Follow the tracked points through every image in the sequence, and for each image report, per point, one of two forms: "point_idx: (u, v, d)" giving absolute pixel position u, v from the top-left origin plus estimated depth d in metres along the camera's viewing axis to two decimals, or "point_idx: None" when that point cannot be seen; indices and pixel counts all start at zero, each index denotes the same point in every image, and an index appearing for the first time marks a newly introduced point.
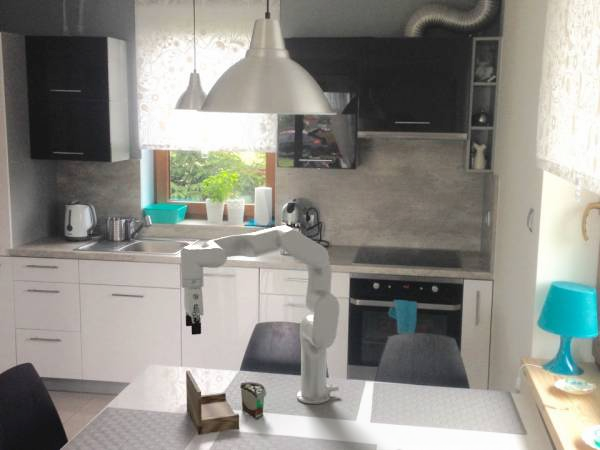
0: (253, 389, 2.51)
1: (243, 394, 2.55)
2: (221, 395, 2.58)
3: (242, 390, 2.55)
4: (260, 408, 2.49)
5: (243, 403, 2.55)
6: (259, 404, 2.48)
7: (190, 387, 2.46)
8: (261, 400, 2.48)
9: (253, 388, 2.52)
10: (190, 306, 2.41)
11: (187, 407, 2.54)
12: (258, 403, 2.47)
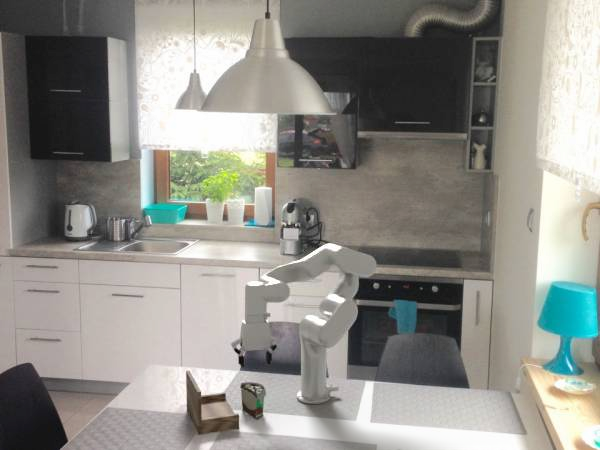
0: (253, 389, 2.51)
1: (243, 394, 2.55)
2: (221, 395, 2.58)
3: (242, 390, 2.55)
4: (260, 408, 2.49)
5: (243, 403, 2.55)
6: (259, 404, 2.48)
7: (190, 387, 2.46)
8: (261, 400, 2.48)
9: (253, 388, 2.52)
10: (269, 337, 2.49)
11: (187, 407, 2.54)
12: (258, 403, 2.47)
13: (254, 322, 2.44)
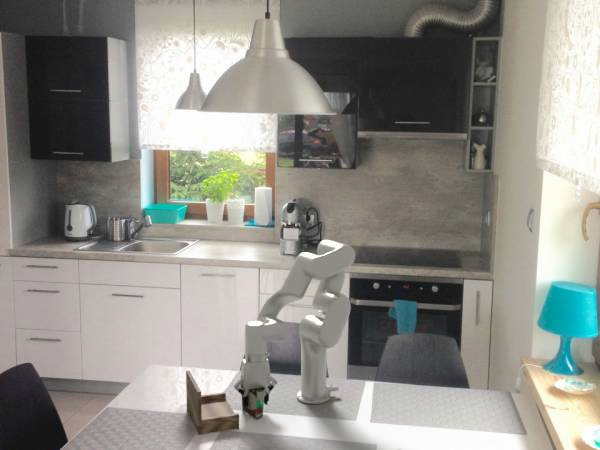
0: (253, 389, 2.51)
1: None
2: (221, 395, 2.58)
3: None
4: (260, 408, 2.49)
5: None
6: (259, 404, 2.48)
7: (190, 387, 2.46)
8: (261, 400, 2.48)
9: None
10: (270, 376, 2.51)
11: (187, 407, 2.54)
12: (258, 403, 2.47)
13: (254, 362, 2.47)
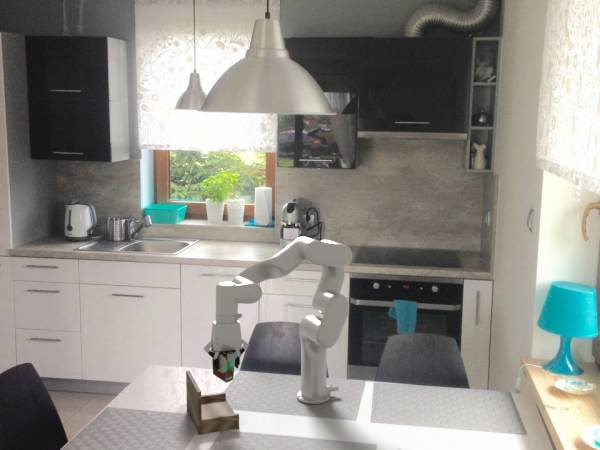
0: (224, 351, 2.45)
1: None
2: (221, 395, 2.58)
3: None
4: (230, 371, 2.43)
5: None
6: (229, 366, 2.42)
7: (190, 387, 2.46)
8: (232, 362, 2.42)
9: (224, 351, 2.46)
10: (241, 338, 2.45)
11: (187, 407, 2.54)
12: (228, 365, 2.41)
13: (225, 323, 2.41)
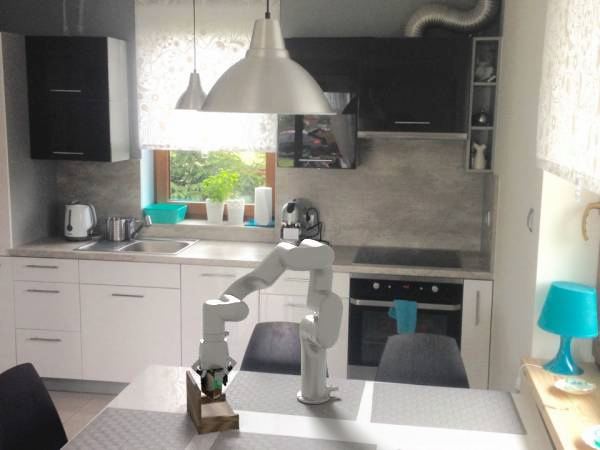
0: (211, 370, 2.45)
1: None
2: None
3: None
4: (218, 389, 2.42)
5: None
6: (217, 385, 2.41)
7: (190, 387, 2.46)
8: (219, 381, 2.42)
9: (212, 369, 2.46)
10: (228, 356, 2.45)
11: (187, 407, 2.54)
12: (216, 384, 2.41)
13: (212, 341, 2.40)
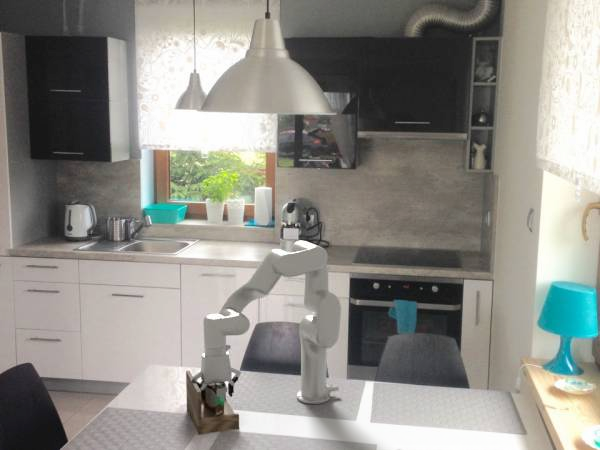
0: (214, 386, 2.46)
1: None
2: None
3: None
4: (220, 405, 2.44)
5: None
6: (219, 401, 2.43)
7: (190, 387, 2.46)
8: (221, 397, 2.43)
9: (214, 385, 2.47)
10: (230, 370, 2.46)
11: (187, 407, 2.54)
12: (218, 400, 2.42)
13: (213, 356, 2.41)
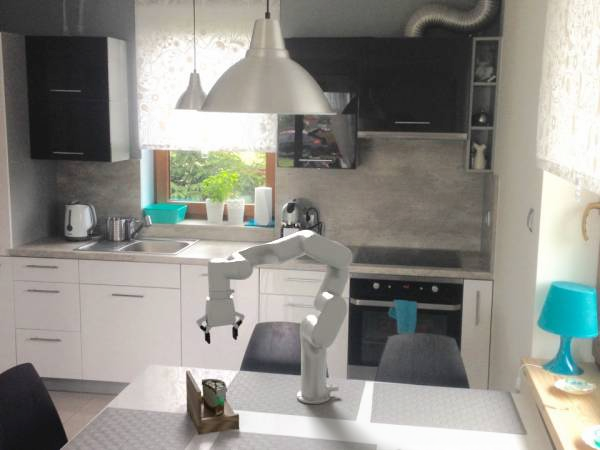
0: (214, 386, 2.46)
1: (204, 390, 2.50)
2: None
3: (203, 387, 2.50)
4: (220, 405, 2.44)
5: (204, 400, 2.50)
6: (219, 401, 2.43)
7: (190, 387, 2.46)
8: (221, 397, 2.43)
9: (214, 385, 2.47)
10: (234, 313, 2.51)
11: (187, 407, 2.54)
12: (218, 400, 2.42)
13: (218, 298, 2.46)
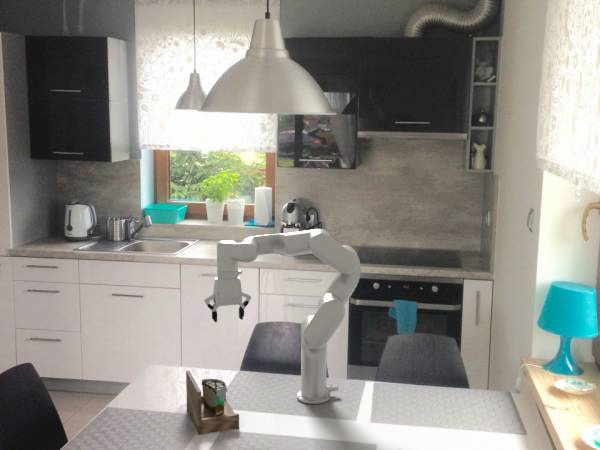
0: (214, 386, 2.46)
1: (204, 390, 2.50)
2: None
3: (203, 387, 2.50)
4: (220, 405, 2.44)
5: (204, 400, 2.50)
6: (219, 401, 2.43)
7: (190, 387, 2.46)
8: (221, 397, 2.43)
9: (214, 385, 2.47)
10: (241, 293, 2.60)
11: (187, 407, 2.54)
12: (218, 400, 2.42)
13: (226, 278, 2.55)
